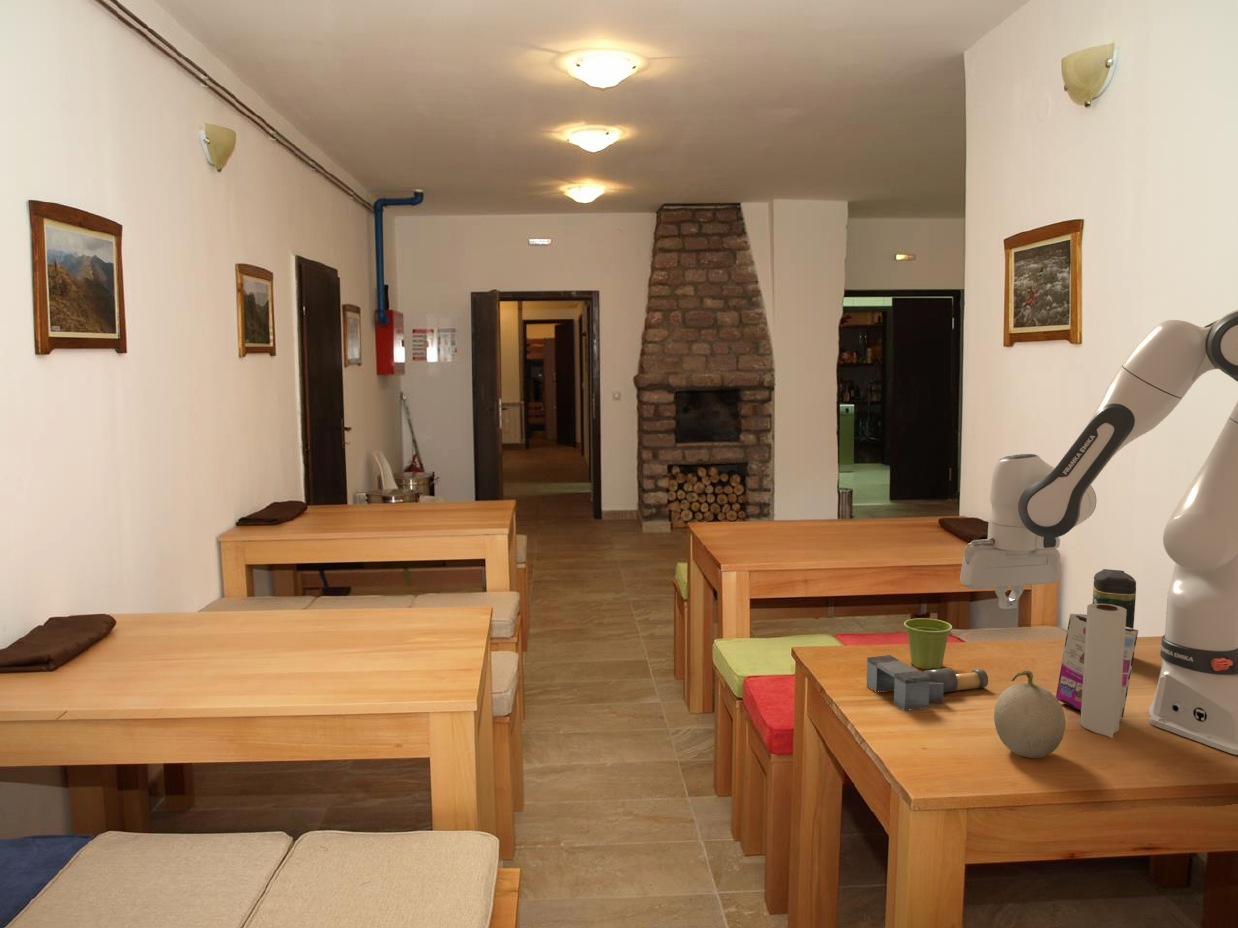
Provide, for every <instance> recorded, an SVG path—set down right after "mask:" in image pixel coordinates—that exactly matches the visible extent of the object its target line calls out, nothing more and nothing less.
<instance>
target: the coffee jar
mask: <svg viewBox="0 0 1238 928" xmlns="http://www.w3.org/2000/svg"><path fill="white" fill-rule="evenodd" d="M1092 587H1093V589H1092V603H1091V604H1110V605H1116V606H1120V607H1123V608H1125V609H1126V610H1127V612H1126V627H1129V628H1132V629H1135V628H1134V625H1135V613H1136V612H1135V611H1136V597H1137V582H1136V580H1135V578H1134V577H1133V576H1131V574H1129V573H1127V572H1125V571H1124V570H1118V569H1109V568H1108V569H1107V568H1105V569H1104V568H1103V569H1102V570H1100V571H1098V572H1096V573H1095V574H1094V576H1093V586H1092Z"/></svg>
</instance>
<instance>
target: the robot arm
mask: <svg viewBox="0 0 1238 928" xmlns="http://www.w3.org/2000/svg"><path fill="white" fill-rule="evenodd" d="M1213 370H1219V371H1221V372H1222V373H1224V374H1225V375H1227V376H1229V377H1231V379H1233V380H1234V381H1236V382H1237V383H1238V309H1235V310H1232V311H1231V312H1229V313H1226V314H1225V315H1224V316H1221V318H1219V319H1218V320H1217V319H1216V320H1215V321H1213V322H1211V323H1208V324H1207V325H1205V326H1203V327H1202V326H1198V325H1196V324H1193V323H1192V322H1190V321H1189V322H1188V321H1184V320H1181V319H1179V320H1178V319H1170V320H1164V321H1162V322H1160V323H1159V324H1157V325H1156V326H1155V327H1153V329H1152V330H1151V331H1150V332H1149V333H1148V334H1147V335H1146V336H1145V337H1144V338H1143V339H1142V340H1141V341H1140V342H1138V344H1137V346H1136V347H1135V348H1134V349H1133V350H1132V351H1131V353H1130V354H1129V355H1128V356H1127V357H1126V359H1125V361H1124V362H1123V363H1122V365H1121V366H1120V367H1119V369H1118V370H1117V371H1116V373H1115V375H1114V377H1113V378H1112V379H1111V381H1110V383H1109V384H1108V386H1107V388H1106V390H1105V392H1104V394H1103V396H1102V397H1101V400H1100V402H1099V404H1098V405H1097V406H1096V409H1095V410H1094V412H1093V414H1092V416H1091V418H1090V420H1089V421H1088V423H1087V425H1086V426H1085V428H1084V429H1083V431H1082V432H1081V433H1080V435H1079V436H1078V437H1077V439H1076V440H1075V441H1074V442H1073V444H1072V445H1071V447H1070V448H1069V449H1068V451H1067V452H1066V453H1065V454H1064V455H1063V457H1062V459H1061V460H1060V461H1059V462H1058V463H1057V465H1055V467H1054V466H1052V465H1050V464H1049V463H1047V462H1046V461H1044V459H1042V458H1041V457H1040V456H1039V455H1037V454H1035V453H1020V454H1013V455H1008V456H1004V457H1001V458H1000V459H999V460H998V461H997V462H996V463H995V464H994V468H993V473H992V479H991V484H990V485H991V486H990V496H989V500H990V503H991V510H990V511H991V512H990V515H989V517H988V524H987V525H988V527H987V539H986V538H985V539H973V540H971V542H970V543H968V544H967V545H966V546H965V547H964V552H963V553H964V554H963V555H964V556H963V559H962V564H961V569H960V570H961V571H960V575H959V576H960V582H961V584H962V586H964V587H966V588H968V589H972V590H981V589H983V590H984V589H985V590H986V589H993V590H994V592H995V594H996V596H997V598H998V608H1000V609H1002V610H1007V609H1008V610H1009V609H1017V607H1018V600H1019V599H1020V597H1021V596H1022V594H1023V592H1024V588H1025V586H1036V585H1047V584H1048V585H1049V584H1055V583H1056V582H1057V580H1059V577H1060V571H1061V567H1060V566H1061V556H1060V552H1059V550H1058V548H1059V547H1060V543H1061V539H1060V537H1063V536H1064V535H1066V534H1067V533H1069V532H1070V531H1071V530H1072V529H1073V528H1075V527H1077V526H1078V525H1081V524H1082V523H1084V522H1085V521H1087V519H1089V518H1090V517H1091V516H1092V514H1093V513H1094V511H1095V509H1096V507H1097V506H1096V505H1097V495H1096V492H1095V489H1094V488H1093V487H1092V484H1093V483H1094V482H1095V480H1096V479H1097V477H1098V476H1099V475H1100V474H1101V472H1102V471H1104V469H1105V467H1106V466H1107V465H1108V463H1109V462H1110V461H1111V460H1112V458H1113V457H1114V456H1115V455H1116V454H1117V453H1118V452H1119V451H1120V450H1122V449H1123V448H1124V447H1125V446H1127V445H1128V444H1129V443H1131V442H1133V441H1134V440H1136V439H1137V438H1139V437H1142V436H1143V435H1145V434H1146V433H1148V432H1150V431H1152V430H1154V429H1155V428H1156V427H1157V426H1158V425H1159V424H1160V423H1161V422H1163V421H1164V420H1165V419H1166V418H1167V417H1168V416H1170V414H1171V413H1172V412H1173V411H1174V409H1175V408H1176V407H1177V406H1178V405H1179V403H1180V402H1181V401H1182V400H1183V398H1184V397H1185V395H1186V394H1187V393H1188V391H1189V390H1190V389H1191V387H1192V386H1193V385H1194V383H1195V382H1196V381H1197V380H1198V379H1199V378H1200V377H1202V375H1203V374H1206V373H1207V372H1209V371H1213ZM1162 542H1163V543H1162V544H1163V547H1164V550H1165V552H1166V553H1167V555H1168V556H1169V558H1170V559H1171V560H1172V561H1173V562H1174V567H1173V573H1172V577H1171V581H1170V586H1169V587H1168V592H1167V599H1166V612H1165V626H1164V627H1165V629H1164V635H1163V636H1162V637H1161V642H1160V654H1159V655H1160V657H1161V658H1162V660H1161V666H1160V672H1159V676H1158V682H1157V686H1156V689H1155V693H1154V696H1153V697H1154V698H1153V699H1152V703H1151V705H1150V707H1149V708H1148V713H1149V715H1150V716H1149V724H1150V725H1152V726H1154V727H1157V728H1160V729H1163V730H1165V731H1168V732H1171V733H1174V734H1177V735H1179V736H1181V737H1184V738H1187V739H1189V740H1192V741H1196V742H1198V743H1201V744H1204V745H1206V746H1209V747H1212V748H1214V749H1218V750H1221V751H1223V752H1226V753H1229V754H1231V755H1235V756H1238V401H1237V402H1236V403H1235V406H1234V407H1233V409H1232V411H1231V413H1230V415H1229V417H1228V418H1227V420H1226V422H1225V424H1224V426H1223V428H1222V430H1221V431H1220V434H1219V435H1218V438H1217V439H1216V440H1215V443H1214V445H1213V447H1212V449H1211V450H1210V452H1209V454H1208V456H1207V458H1206V460H1205V462H1204V463H1203V465H1202V466H1201V467H1200V469H1199V471H1198V472H1197V474H1196V475H1195V477H1194V478H1193V480H1192V482H1191V483H1190V484H1189V486H1188V487H1187V489H1186V491H1185V492H1184V494H1183V496H1182V498H1181V499H1180V501H1179V502H1178V503H1177V506H1176V507H1175V509H1174V511H1173V513H1172V514H1171V516H1170V518H1169V519H1168V521H1167V523H1166V525H1165V528H1164V529H1163V536H1162ZM1008 588H1010V589H1011V591H1010V594H1009V595H1008V597H1007V594H1006V593H1007V592H1008Z"/></svg>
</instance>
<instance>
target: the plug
mask: <svg viewBox="0 0 1238 928" xmlns="http://www.w3.org/2000/svg"><path fill="white" fill-rule="evenodd" d="M921 672H922V673H924V674H925V675H927V676H929V677H930V682H935V683H943V684H944V689H943V694H945V693H951V692H957V691H963V690H973V689H982V688H986V687H988V684H989V676H988V674H987V672H986V671H985V670H984V669H981V668H980V669H974V670H971V671H970V672H964V673H957V674H956V672H955V671H954V670H953V669H952V668H950V667H945V668H939V669H935V668H934V669H925V670H924V671H921Z"/></svg>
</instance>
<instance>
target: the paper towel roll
mask: <svg viewBox="0 0 1238 928" xmlns="http://www.w3.org/2000/svg"><path fill="white" fill-rule="evenodd" d="M1126 612H1127V610H1126V609H1125V608H1123V607H1120V606H1116V605H1110V604H1092V603H1090V604H1087V608H1086V615H1087V621H1086V637H1085V654H1084V671H1083V688H1082V705H1081V710H1080V725H1081V726H1082V727H1083V728H1085V729H1086V730H1089V731H1091V732H1092V733H1095V734H1099V735H1103V736H1106V737H1108V738H1111V739H1114V733H1117V732H1119V731H1120V721H1121V720H1120V705H1121V690H1122V674H1123V659H1124V643H1125V628H1126Z"/></svg>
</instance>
